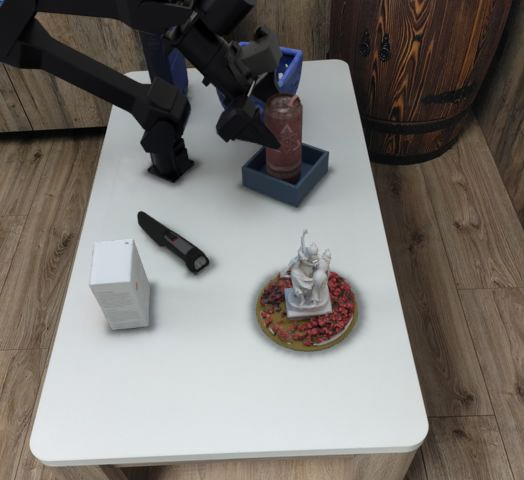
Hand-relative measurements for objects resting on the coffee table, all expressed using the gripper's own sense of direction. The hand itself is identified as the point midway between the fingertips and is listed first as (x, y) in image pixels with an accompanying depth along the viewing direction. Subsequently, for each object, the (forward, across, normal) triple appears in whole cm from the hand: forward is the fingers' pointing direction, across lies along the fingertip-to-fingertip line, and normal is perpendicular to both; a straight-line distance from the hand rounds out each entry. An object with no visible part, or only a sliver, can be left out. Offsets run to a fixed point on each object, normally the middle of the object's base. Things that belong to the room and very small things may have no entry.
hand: (284, 130), depth 82 cm
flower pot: (+2, +16, +12) cm, 20 cm away
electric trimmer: (-4, -20, +17) cm, 27 cm away
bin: (+7, 0, +7) cm, 10 cm away
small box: (-5, -33, +19) cm, 38 cm away
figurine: (+13, -28, +1) cm, 31 cm away
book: (-12, +19, +26) cm, 34 cm away
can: (+6, 0, +6) cm, 9 cm away
